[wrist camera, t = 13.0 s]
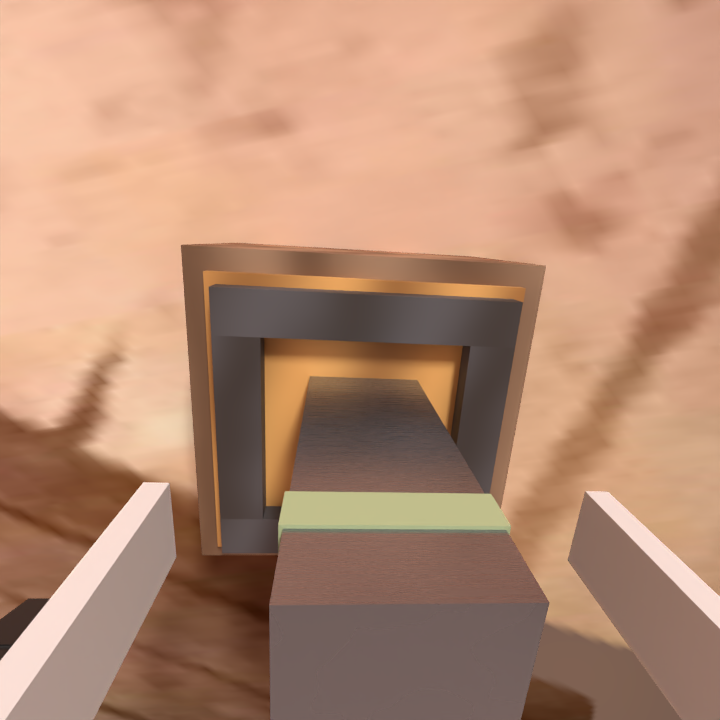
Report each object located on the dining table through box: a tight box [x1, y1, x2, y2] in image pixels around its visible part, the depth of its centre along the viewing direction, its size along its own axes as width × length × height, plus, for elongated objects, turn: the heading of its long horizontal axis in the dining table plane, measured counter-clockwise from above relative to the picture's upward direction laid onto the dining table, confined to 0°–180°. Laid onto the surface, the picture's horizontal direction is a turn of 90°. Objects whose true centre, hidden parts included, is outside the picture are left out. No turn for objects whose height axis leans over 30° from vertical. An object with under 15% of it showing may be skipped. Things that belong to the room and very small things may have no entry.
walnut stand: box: [181, 243, 546, 555], centre depth 24 cm, size 16×16×12 cm
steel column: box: [269, 376, 549, 720], centre depth 13 cm, size 5×5×12 cm
